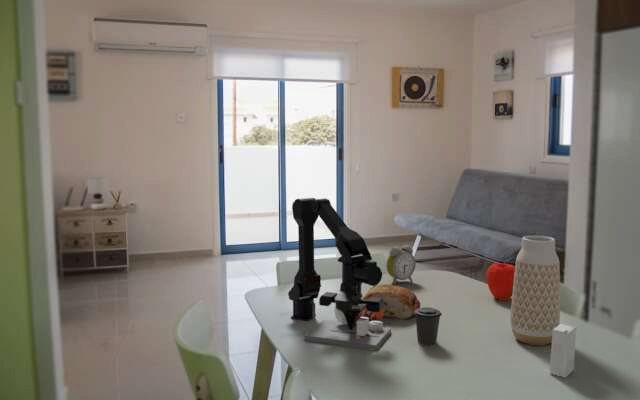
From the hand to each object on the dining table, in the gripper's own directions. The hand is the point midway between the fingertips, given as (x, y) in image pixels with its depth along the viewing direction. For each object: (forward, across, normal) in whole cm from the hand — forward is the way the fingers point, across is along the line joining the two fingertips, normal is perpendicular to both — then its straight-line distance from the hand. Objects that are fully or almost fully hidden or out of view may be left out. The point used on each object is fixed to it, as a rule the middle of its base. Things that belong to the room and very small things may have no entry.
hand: (351, 329), depth 183 cm
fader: (+1, +3, 0) cm, 4 cm away
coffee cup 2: (+3, +22, +5) cm, 22 cm away
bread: (+3, +4, +31) cm, 31 cm away
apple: (+3, +38, +60) cm, 71 cm away
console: (+3, -1, +1) cm, 3 cm away
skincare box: (+3, +59, -4) cm, 59 cm away
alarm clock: (+3, -4, +69) cm, 69 cm away
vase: (+3, +51, +19) cm, 54 cm away
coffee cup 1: (0, +2, +18) cm, 18 cm away
